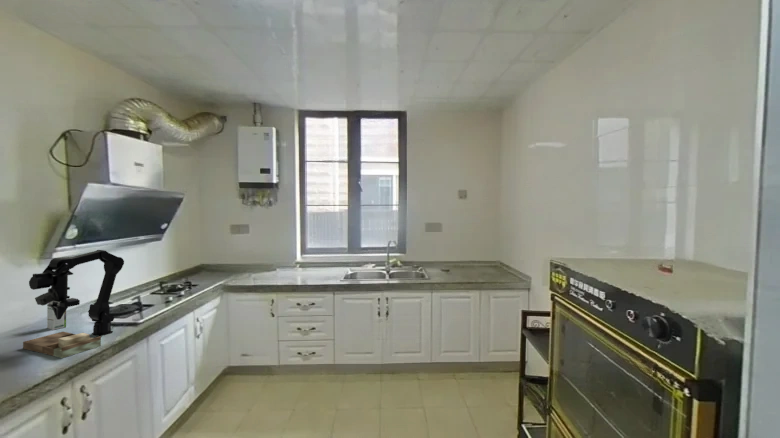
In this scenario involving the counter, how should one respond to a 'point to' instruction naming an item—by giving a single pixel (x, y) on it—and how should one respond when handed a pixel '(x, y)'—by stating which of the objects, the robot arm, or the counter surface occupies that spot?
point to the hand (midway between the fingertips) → (58, 319)
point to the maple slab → (73, 339)
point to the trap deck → (52, 345)
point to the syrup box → (55, 319)
